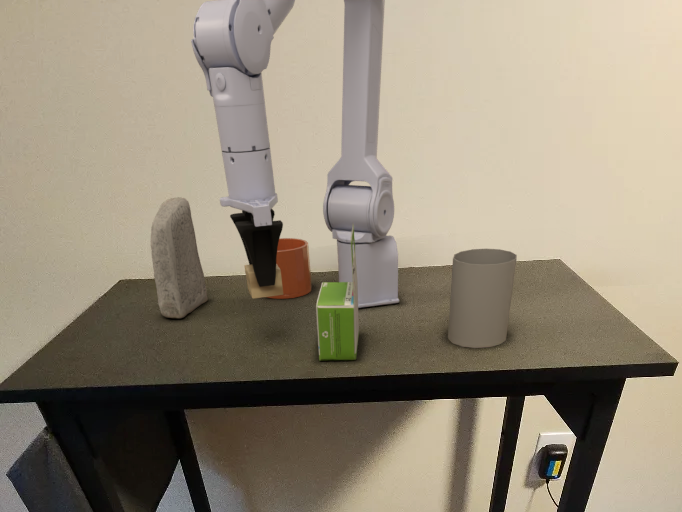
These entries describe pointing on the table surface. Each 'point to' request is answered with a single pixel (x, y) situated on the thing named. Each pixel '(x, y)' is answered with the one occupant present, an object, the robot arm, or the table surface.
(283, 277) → the cup
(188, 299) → the decorative stone
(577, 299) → the table surface
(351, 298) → the ink box
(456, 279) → the cup
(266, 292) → the beige cube
